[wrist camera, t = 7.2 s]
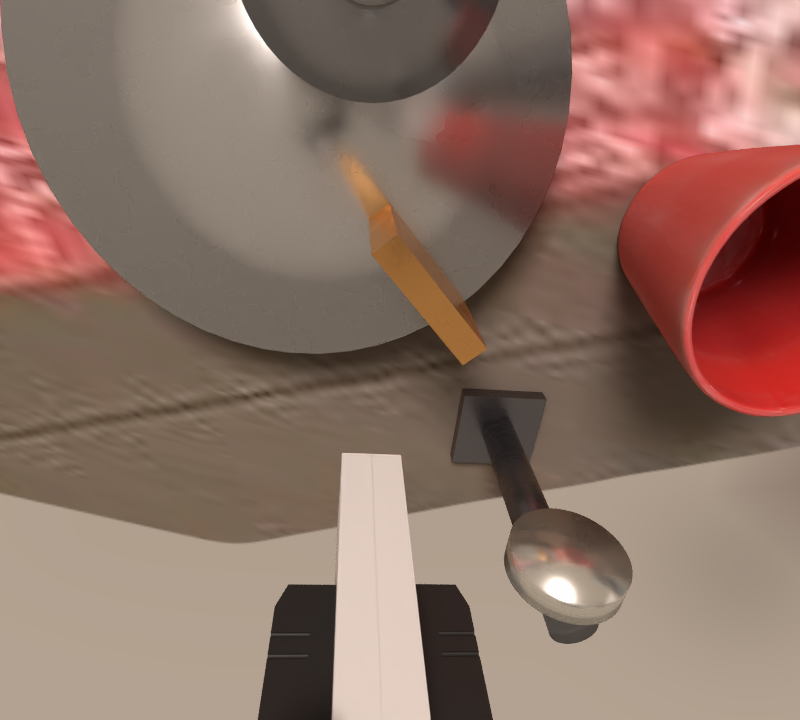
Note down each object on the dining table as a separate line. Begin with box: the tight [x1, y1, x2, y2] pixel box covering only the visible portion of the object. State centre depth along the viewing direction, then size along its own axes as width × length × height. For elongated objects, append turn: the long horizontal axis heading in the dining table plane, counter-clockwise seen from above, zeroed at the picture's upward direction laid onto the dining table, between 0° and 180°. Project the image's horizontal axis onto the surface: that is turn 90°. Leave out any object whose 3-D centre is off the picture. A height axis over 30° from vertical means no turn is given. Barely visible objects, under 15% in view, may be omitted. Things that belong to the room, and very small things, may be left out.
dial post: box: [450, 389, 632, 644], centre depth 27 cm, size 5×5×14 cm
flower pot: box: [618, 145, 800, 417], centre depth 24 cm, size 11×11×10 cm
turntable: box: [1, 0, 572, 365], centre depth 20 cm, size 22×22×7 cm
